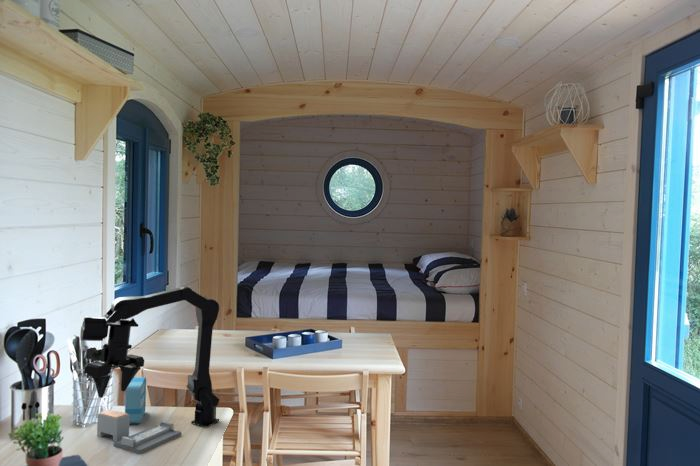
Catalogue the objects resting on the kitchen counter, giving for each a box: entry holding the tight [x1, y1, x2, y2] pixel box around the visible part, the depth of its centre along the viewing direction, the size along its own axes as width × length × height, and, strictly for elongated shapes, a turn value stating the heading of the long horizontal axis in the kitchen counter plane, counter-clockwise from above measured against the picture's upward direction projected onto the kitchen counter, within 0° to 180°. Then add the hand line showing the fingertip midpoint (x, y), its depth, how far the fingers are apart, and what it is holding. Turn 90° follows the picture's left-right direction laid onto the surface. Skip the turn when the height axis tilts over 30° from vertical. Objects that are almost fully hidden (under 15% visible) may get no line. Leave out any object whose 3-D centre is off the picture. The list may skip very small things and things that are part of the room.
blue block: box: [124, 376, 147, 425], centre depth 185 cm, size 12×4×12 cm, turn 12°
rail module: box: [96, 409, 130, 442], centre depth 170 cm, size 4×8×7 cm, turn 63°
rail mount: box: [113, 420, 182, 455], centre depth 168 cm, size 16×10×3 cm, turn 153°
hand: (112, 394), depth 169 cm, fingers open, 9 cm apart
